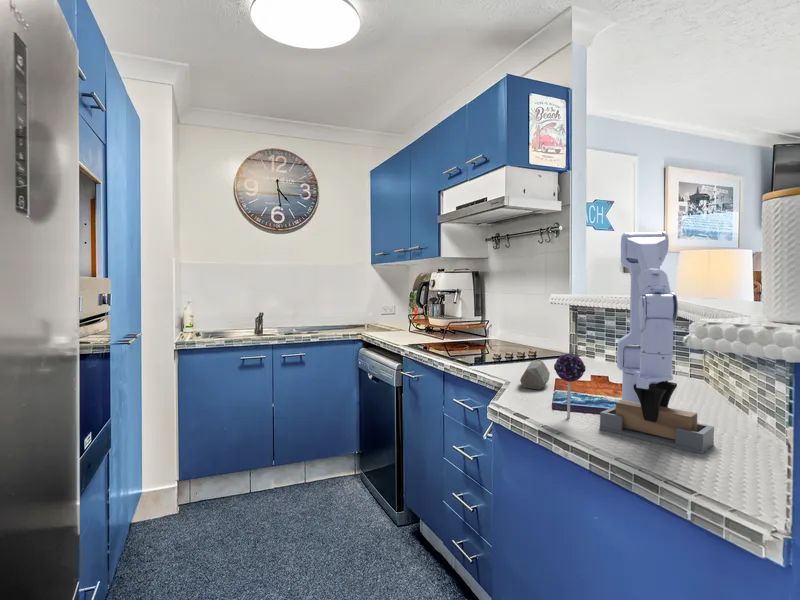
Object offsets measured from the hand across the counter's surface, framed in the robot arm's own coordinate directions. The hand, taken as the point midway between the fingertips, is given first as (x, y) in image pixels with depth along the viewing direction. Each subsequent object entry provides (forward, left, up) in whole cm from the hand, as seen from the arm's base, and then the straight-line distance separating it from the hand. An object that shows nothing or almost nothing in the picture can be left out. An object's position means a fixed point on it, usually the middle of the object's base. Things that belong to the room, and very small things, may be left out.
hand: (654, 418), depth 94 cm
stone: (-23, -42, -4) cm, 48 cm away
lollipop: (+1, -18, -4) cm, 18 cm away
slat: (0, 0, -3) cm, 3 cm away
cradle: (0, 0, -4) cm, 4 cm away
